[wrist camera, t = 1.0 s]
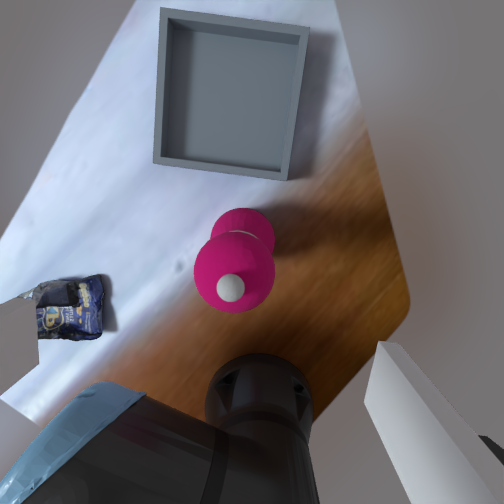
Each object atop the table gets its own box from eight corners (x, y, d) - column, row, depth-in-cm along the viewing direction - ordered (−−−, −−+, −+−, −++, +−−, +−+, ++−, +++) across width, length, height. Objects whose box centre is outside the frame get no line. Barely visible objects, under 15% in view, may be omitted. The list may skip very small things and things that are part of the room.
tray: (284, 181, 36) (286, 180, 33) (161, 164, 36) (152, 163, 33) (305, 41, 32) (309, 27, 29) (169, 23, 32) (160, 7, 29)
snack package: (42, 242, 39) (11, 315, 41) (11, 257, 33) (-24, 341, 35) (130, 280, 42) (97, 346, 44) (117, 300, 36) (79, 375, 38)
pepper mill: (267, 199, 36) (278, 223, 17) (277, 255, 38) (297, 336, 18) (210, 210, 37) (156, 246, 17) (222, 265, 38) (186, 354, 19)
